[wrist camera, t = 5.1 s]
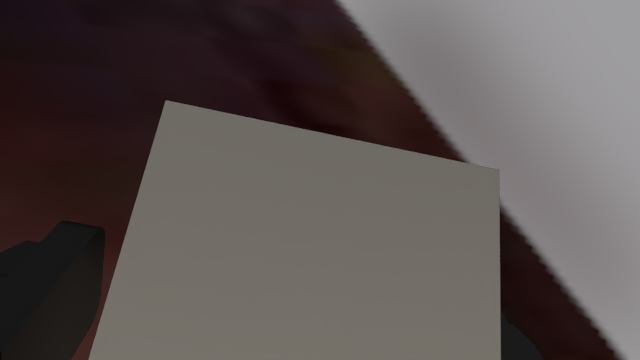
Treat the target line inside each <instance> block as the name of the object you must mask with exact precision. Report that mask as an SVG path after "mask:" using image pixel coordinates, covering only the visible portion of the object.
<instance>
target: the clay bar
mask: <svg viewBox="0 0 640 360" xmlns="http://www.w3.org/2000/svg"><path fill="white" fill-rule="evenodd" d="M88 360H501V322H500V205H499V170H497V169H492V168H487V167H483V166H478V165H473V164H468V163H464V162H459V161H454V160H449V159H444V158H440V157H435V156H430V155H425V154H420V153H416V152H411V151H406V150H401V149H397V148H392V147H387V146H382V145H377V144H373V143H368V142H363V141H358V140H353V139H349V138H344V137H339V136H334V135H330V134H325V133H320V132H315V131H310V130H306V129H301V128H296V127H291V126H286V125H282V124H277V123H272V122H267V121H263V120H258V119H253V118H248V117H243V116H239V115H234V114H229V113H224V112H219V111H215V110H210V109H205V108H200V107H196V106H191V105H186V104H181V103H176V102H172V101H167V100H166V101H165V105H164V108H163V111H162V115H161V118H160V121H159V125H158V128H157V131H156V135H155V138H154V142H153V145H152V148H151V152H150V155H149V158H148V162H147V165H146V168H145V172H144V175H143V178H142V182H141V185H140V188H139V192H138V195H137V199H136V202H135V205H134V209H133V212H132V215H131V219H130V222H129V225H128V229H127V232H126V235H125V239H124V242H123V245H122V249H121V252H120V256H119V259H118V262H117V266H116V269H115V272H114V276H113V279H112V282H111V286H110V289H109V292H108V296H107V299H106V302H105V306H104V309H103V313H102V316H101V319H100V323H99V326H98V329H97V333H96V336H95V339H94V343H93V346H92V349H91V353H90V356H89V359H88Z"/></svg>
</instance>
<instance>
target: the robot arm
mask: <svg viewBox="0 0 640 360" xmlns="http://www.w3.org/2000/svg"><path fill="white" fill-rule="evenodd" d="M104 247H105V231H104V229H103V228H102V227H97V226H92V225H86V224H80V223H75V222H69V221H61V222H60V223H59V224H58V225H57V226H56V227H55V228H54V229H53V230H52V231H51V232H50V233H49V234H48V235H47V236H46V237H45V238H44V239H43V240H42V241H41V242H40V243H38V242H32V241H25V242H22V243H20V244H18V245H16V246H14V247H11V248H9V249H7V250H5V251H3V252H1V253H0V360H71V358H72V357H73V355H74V353H75V351H76V350H77V348H78V346H79V345H80V343H81V341H82V340H83V338H84V336H85V335H86V333H87V331H88V330H89V328H90V326H91V324H92V322H93V320H94V318H95V315H96V312H97V309H98V305H99V301H100V296H101V285H102V272H103V260H104ZM500 322H501V360H543V358H542V356H541V355H540V353H539V352H538V350H537V348H536V347H535V345H534V344H533V343H532V342H531V341H530V340H529V339H528V338H527V337H526V336H525V335H524V334H523V333H522V332H521V331H520V330H518V329H517V328H516V327H515V326H514V325H510V324H509V323H508V322H507V320H506V318H505V317H504V315H503V313H502V312H501V310H500Z"/></svg>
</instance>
